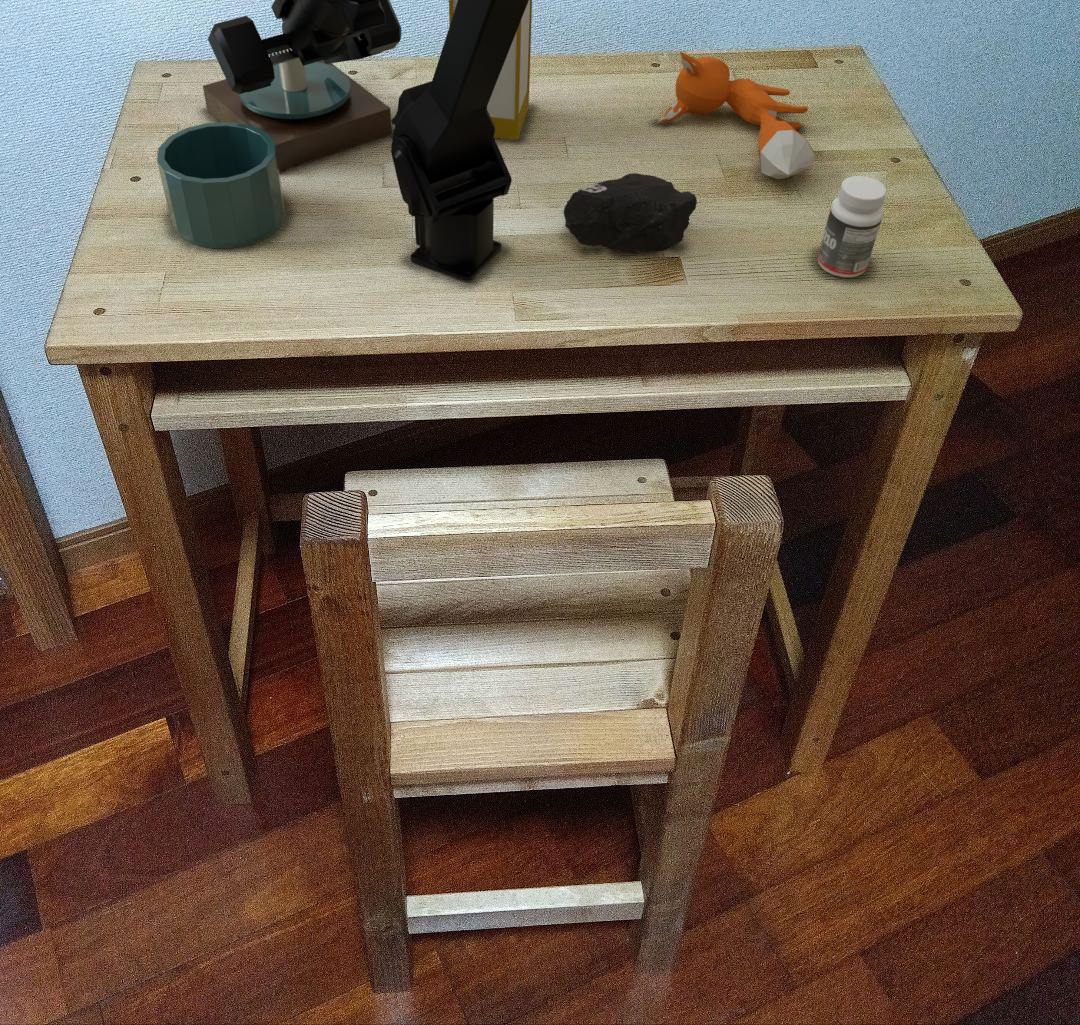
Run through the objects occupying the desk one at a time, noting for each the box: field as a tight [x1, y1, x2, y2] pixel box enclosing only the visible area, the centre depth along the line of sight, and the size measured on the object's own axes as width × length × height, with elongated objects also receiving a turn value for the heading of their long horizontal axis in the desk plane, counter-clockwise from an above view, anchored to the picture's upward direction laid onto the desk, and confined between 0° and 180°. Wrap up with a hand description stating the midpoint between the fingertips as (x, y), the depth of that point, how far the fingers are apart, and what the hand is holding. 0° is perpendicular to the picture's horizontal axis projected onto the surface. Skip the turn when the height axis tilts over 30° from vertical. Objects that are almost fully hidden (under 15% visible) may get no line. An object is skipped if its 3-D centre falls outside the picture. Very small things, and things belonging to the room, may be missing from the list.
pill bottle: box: [817, 175, 887, 278], centre depth 106 cm, size 5×5×8 cm
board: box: [202, 60, 393, 173], centre depth 121 cm, size 15×14×3 cm
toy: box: [657, 51, 815, 180], centre depth 121 cm, size 8×22×15 cm
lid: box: [239, 49, 351, 119], centre depth 118 cm, size 12×12×5 cm
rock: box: [563, 172, 698, 254], centre depth 108 cm, size 10×9×6 cm
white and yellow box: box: [448, 0, 533, 141], centre depth 114 cm, size 7×13×24 cm, turn 171°
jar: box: [156, 122, 286, 250], centre depth 107 cm, size 11×11×7 cm
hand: (286, 70), depth 119 cm, fingers open, 9 cm apart
